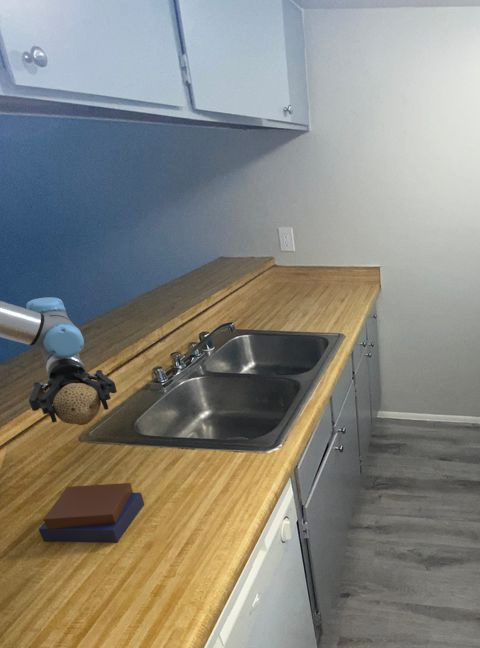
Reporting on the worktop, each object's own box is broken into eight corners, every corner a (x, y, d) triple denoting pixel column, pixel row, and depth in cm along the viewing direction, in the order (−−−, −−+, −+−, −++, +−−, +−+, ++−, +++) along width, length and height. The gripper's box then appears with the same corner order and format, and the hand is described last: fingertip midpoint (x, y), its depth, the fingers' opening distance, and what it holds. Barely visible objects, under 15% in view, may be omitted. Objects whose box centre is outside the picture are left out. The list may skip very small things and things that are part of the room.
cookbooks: (43, 541, 90) (33, 519, 88) (78, 502, 100) (70, 481, 98) (117, 542, 91) (109, 520, 88) (144, 504, 101) (138, 482, 98)
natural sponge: (107, 429, 104) (95, 389, 100) (59, 440, 100) (44, 399, 95) (106, 411, 111) (94, 373, 106) (60, 420, 107) (46, 381, 102)
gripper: (120, 375, 123) (139, 411, 107) (17, 397, 111) (22, 440, 95) (112, 349, 119) (131, 381, 104) (6, 368, 107) (9, 408, 92)
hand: (79, 410), depth 100 cm, fingers closed on natural sponge, 9 cm apart
